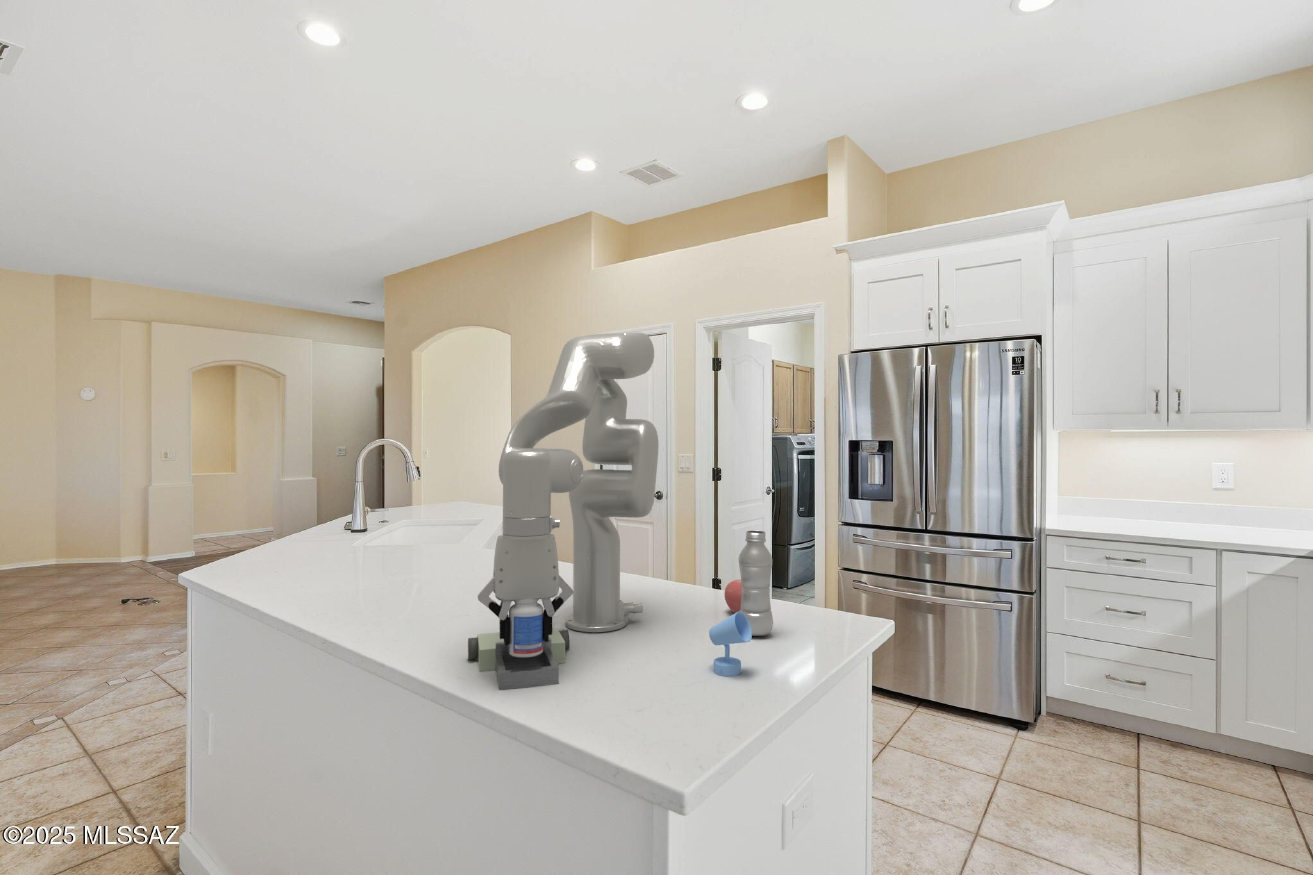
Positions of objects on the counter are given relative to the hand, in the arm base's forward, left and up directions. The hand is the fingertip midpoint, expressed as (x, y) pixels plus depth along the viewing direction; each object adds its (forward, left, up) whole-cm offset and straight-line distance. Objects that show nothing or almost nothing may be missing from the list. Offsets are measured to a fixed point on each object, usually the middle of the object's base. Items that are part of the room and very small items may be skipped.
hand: (525, 640), depth 104 cm
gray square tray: (0, 0, -6) cm, 6 cm away
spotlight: (-32, +7, -6) cm, 33 cm away
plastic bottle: (-45, -10, -6) cm, 46 cm away
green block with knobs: (0, -9, -6) cm, 11 cm away
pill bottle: (0, 0, -2) cm, 2 cm away
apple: (-49, -25, -6) cm, 55 cm away
